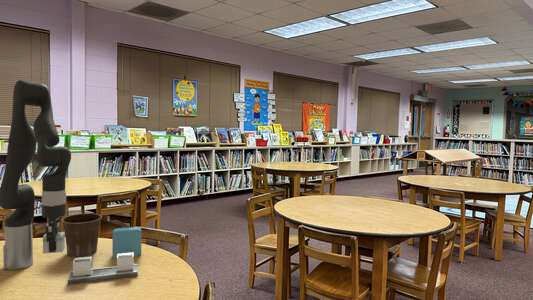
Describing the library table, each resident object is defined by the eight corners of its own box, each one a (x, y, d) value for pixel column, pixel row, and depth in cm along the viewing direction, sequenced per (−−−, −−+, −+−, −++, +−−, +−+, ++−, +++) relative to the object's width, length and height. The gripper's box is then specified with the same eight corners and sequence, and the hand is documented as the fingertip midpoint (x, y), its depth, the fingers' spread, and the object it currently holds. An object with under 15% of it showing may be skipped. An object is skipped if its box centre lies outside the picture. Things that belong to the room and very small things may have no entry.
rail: (67, 284, 128) (67, 264, 128) (71, 275, 136) (70, 256, 135) (137, 276, 137) (137, 257, 136) (137, 268, 144) (137, 250, 144)
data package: (140, 251, 163) (141, 226, 162) (141, 255, 159) (141, 229, 158) (112, 254, 159) (112, 228, 158) (112, 258, 154) (112, 231, 154)
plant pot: (101, 256, 156) (101, 221, 155) (59, 261, 150) (58, 224, 148) (102, 245, 171) (102, 212, 170) (64, 248, 164) (64, 214, 163)
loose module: (42, 253, 123) (42, 236, 123) (45, 249, 127) (45, 232, 127) (62, 252, 125) (62, 235, 125) (64, 247, 129) (64, 231, 129)
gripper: (46, 198, 130) (46, 243, 132) (36, 207, 117) (36, 257, 118) (69, 197, 133) (69, 241, 134) (62, 206, 120) (62, 255, 121)
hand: (54, 248), depth 126 cm, fingers closed on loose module, 4 cm apart
